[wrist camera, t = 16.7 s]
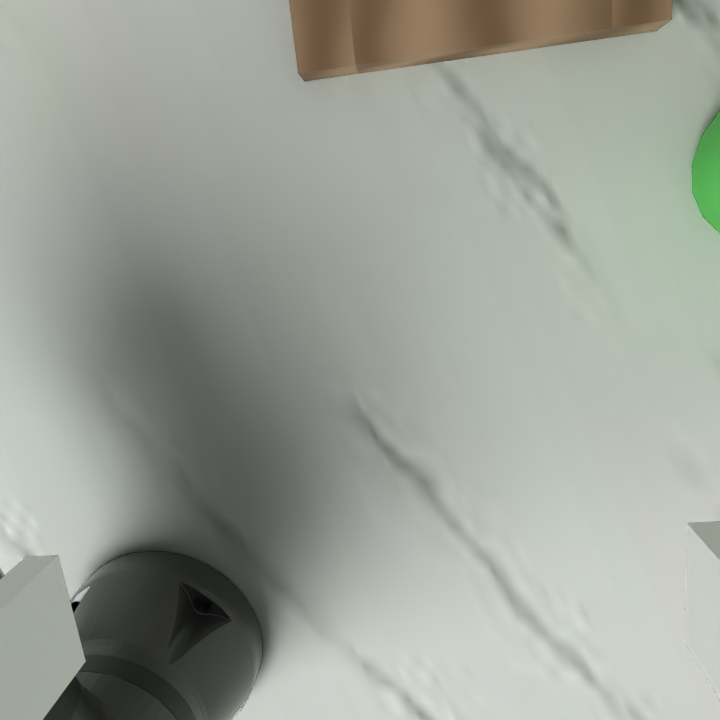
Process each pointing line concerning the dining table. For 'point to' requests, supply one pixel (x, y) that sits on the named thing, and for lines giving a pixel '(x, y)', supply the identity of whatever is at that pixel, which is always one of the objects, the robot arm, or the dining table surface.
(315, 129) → the dining table surface
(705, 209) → the bottle
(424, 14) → the keyhole board
